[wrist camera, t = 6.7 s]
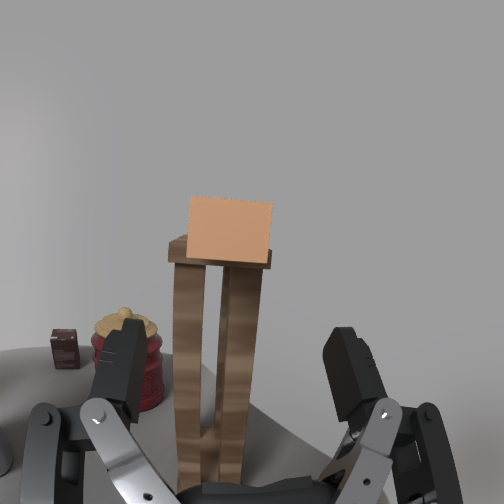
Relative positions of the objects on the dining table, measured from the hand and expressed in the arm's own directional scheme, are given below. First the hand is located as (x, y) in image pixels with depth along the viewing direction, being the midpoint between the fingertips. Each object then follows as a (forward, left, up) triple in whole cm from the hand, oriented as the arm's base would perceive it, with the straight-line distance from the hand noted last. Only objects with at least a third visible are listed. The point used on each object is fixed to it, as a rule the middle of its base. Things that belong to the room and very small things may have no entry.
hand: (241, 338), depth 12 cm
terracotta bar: (-11, +7, +3) cm, 13 cm away
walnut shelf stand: (-15, +10, -28) cm, 34 cm away
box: (-53, -2, -28) cm, 60 cm away
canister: (-37, +8, -28) cm, 47 cm away
